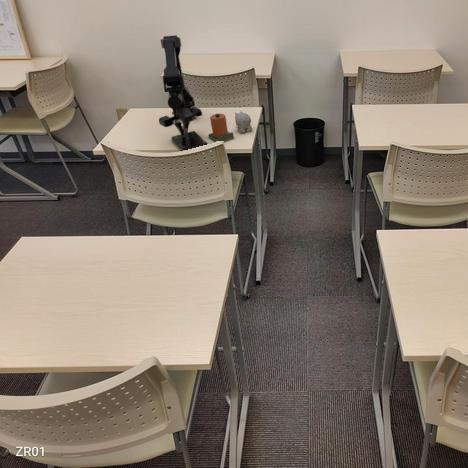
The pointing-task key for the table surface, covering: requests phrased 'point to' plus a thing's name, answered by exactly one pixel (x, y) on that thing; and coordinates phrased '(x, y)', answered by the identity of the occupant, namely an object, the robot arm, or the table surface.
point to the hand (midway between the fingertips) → (184, 134)
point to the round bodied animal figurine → (243, 122)
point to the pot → (219, 125)
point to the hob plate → (192, 143)
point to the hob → (180, 138)
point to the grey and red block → (185, 132)
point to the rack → (221, 137)
